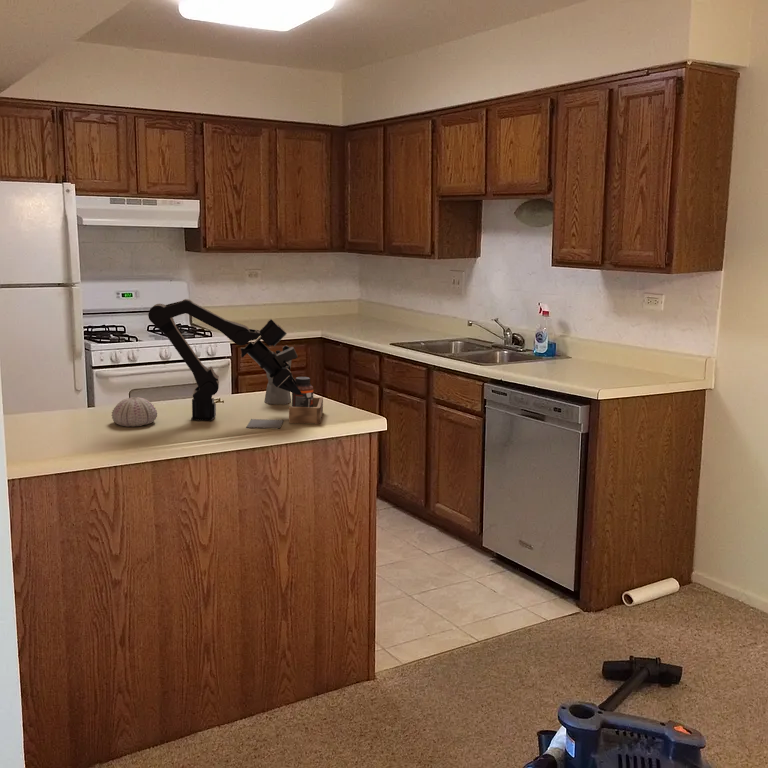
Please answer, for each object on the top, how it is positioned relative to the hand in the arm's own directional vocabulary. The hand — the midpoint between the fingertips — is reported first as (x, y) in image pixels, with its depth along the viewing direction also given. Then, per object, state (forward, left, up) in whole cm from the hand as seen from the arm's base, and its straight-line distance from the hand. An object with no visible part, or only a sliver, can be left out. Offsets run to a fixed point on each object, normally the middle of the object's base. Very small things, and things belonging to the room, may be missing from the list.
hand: (299, 391), depth 263 cm
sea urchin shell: (-49, -12, -9) cm, 51 cm away
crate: (+2, 0, -9) cm, 9 cm away
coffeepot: (-10, +24, -9) cm, 27 cm away
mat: (-10, -10, -9) cm, 16 cm away
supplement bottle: (+1, 0, -9) cm, 9 cm away
